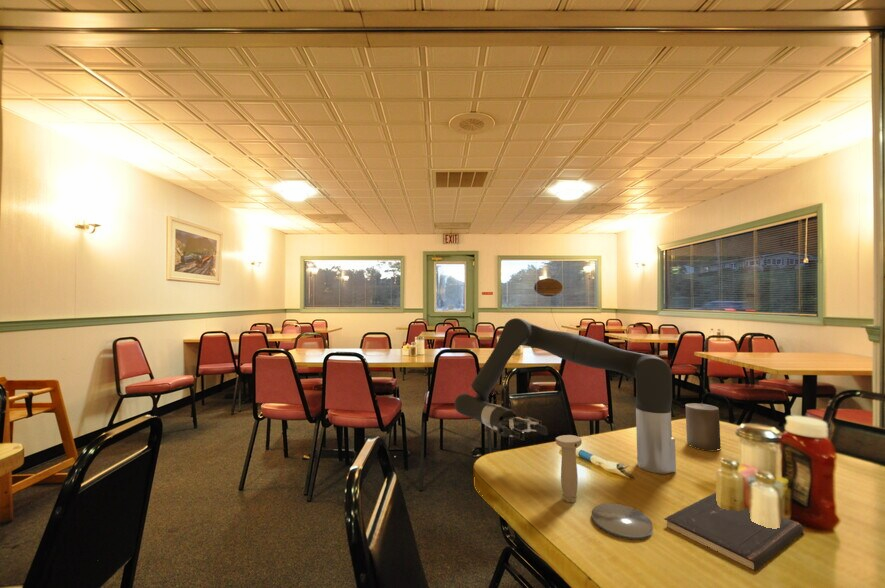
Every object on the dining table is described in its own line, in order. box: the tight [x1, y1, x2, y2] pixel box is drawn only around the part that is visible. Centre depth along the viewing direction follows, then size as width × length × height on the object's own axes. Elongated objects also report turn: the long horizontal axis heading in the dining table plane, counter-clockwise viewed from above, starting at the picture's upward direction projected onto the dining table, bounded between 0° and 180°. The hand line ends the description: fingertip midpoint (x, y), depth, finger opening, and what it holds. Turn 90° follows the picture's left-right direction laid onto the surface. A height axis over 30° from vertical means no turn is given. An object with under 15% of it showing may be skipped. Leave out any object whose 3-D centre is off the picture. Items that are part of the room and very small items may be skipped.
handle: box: [555, 434, 583, 503], centre depth 91 cm, size 5×6×15 cm
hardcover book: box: [663, 492, 804, 572], centre depth 78 cm, size 16×23×2 cm
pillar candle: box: [684, 402, 722, 451], centre depth 127 cm, size 10×10×15 cm
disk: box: [591, 502, 654, 541], centre depth 81 cm, size 12×12×1 cm
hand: (535, 433), depth 101 cm, fingers open, 8 cm apart
